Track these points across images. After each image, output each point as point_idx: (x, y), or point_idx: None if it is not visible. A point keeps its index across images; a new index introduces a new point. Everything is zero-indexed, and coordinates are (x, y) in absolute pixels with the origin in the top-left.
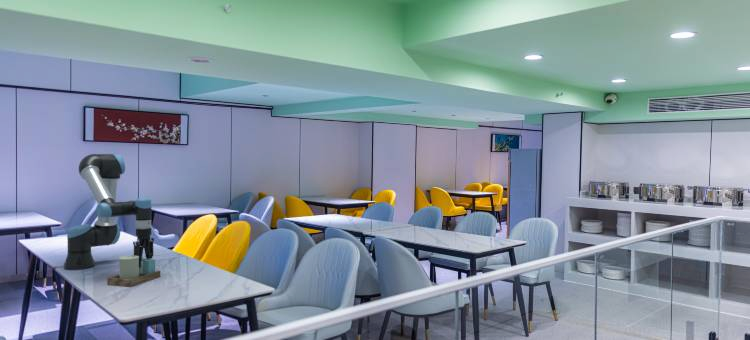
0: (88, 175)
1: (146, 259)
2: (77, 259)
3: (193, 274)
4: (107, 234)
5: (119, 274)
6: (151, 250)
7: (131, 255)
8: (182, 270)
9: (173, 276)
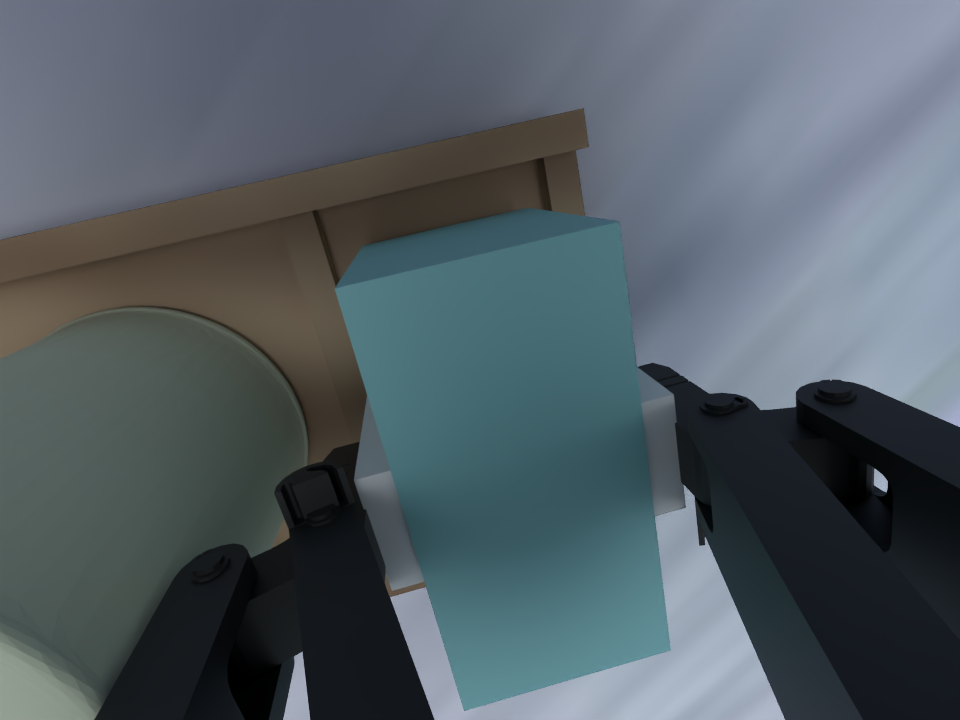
0: None
1: (571, 533)
2: None
3: None
4: None
5: (73, 225)
6: (939, 615)
7: (17, 669)
8: (956, 423)
9: (681, 572)
